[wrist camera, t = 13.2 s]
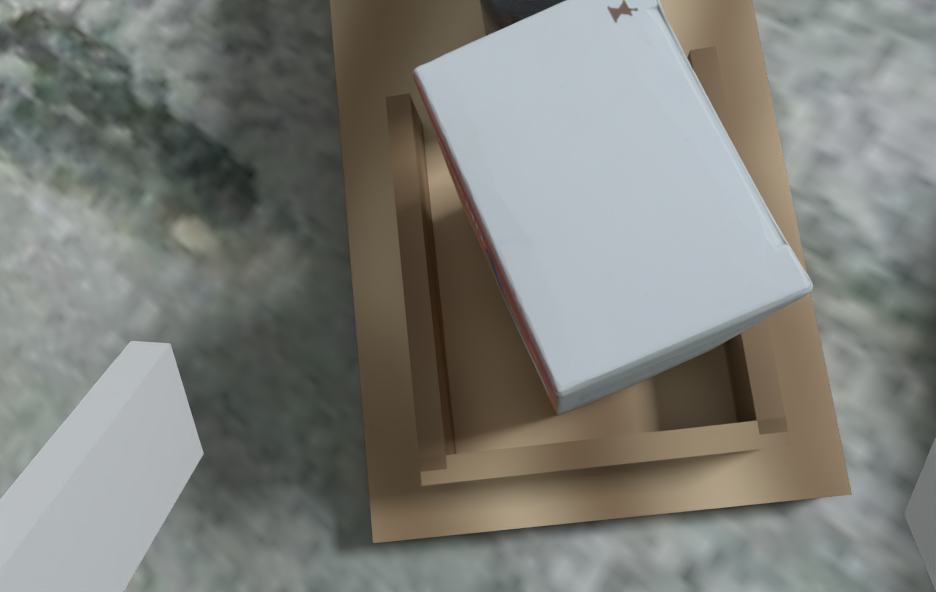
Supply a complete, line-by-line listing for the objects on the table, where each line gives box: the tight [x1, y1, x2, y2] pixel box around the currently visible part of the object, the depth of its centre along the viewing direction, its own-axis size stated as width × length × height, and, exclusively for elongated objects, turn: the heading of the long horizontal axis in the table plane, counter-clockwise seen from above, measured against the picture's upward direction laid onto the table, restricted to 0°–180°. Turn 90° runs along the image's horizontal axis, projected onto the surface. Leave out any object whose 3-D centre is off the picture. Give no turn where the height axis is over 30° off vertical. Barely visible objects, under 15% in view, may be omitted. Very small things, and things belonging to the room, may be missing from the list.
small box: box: [412, 0, 813, 415], centre depth 21 cm, size 8×6×10 cm
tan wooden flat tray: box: [330, 0, 852, 543], centre depth 27 cm, size 15×24×4 cm, turn 6°
